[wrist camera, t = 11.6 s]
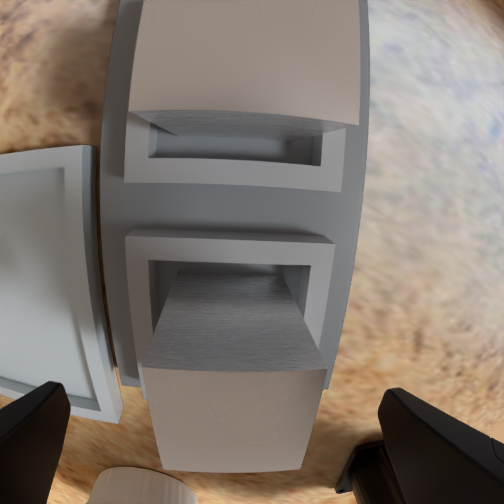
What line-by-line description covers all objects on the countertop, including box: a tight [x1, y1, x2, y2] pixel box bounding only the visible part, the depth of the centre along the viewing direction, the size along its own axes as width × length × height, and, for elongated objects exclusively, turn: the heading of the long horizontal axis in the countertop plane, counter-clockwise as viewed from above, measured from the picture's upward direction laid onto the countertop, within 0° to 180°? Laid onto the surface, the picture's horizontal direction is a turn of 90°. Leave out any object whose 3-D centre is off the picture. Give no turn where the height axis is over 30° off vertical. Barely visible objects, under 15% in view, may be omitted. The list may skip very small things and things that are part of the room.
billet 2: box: [142, 271, 328, 473], centre depth 10 cm, size 4×4×6 cm
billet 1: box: [129, 0, 360, 142], centre depth 7 cm, size 4×4×6 cm
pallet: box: [100, 0, 370, 399], centre depth 10 cm, size 20×10×3 cm, turn 177°
